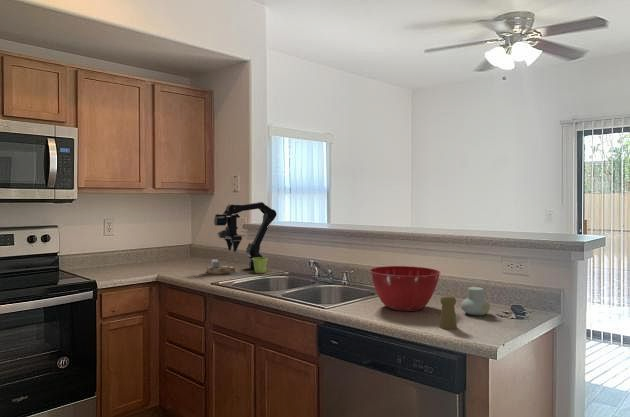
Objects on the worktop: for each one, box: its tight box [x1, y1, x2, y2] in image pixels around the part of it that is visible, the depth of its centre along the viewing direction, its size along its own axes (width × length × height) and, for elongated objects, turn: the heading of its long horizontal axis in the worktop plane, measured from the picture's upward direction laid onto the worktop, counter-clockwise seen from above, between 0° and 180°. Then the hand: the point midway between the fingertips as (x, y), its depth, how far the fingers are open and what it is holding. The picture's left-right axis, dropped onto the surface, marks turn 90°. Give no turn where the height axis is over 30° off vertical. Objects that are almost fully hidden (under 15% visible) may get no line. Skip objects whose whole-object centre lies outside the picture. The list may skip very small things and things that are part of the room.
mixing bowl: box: [369, 265, 441, 312], centre depth 201 cm, size 28×28×15 cm
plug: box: [210, 259, 220, 269], centre depth 287 cm, size 4×4×8 cm
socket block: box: [206, 265, 236, 275], centre depth 289 cm, size 14×10×3 cm
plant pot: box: [252, 256, 269, 274], centre depth 288 cm, size 9×9×9 cm
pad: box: [228, 271, 248, 276], centre depth 284 cm, size 9×9×1 cm
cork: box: [438, 294, 458, 330], centre depth 172 cm, size 6×6×11 cm
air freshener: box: [460, 286, 491, 317], centre depth 191 cm, size 11×8×10 cm
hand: (232, 251), depth 295 cm, fingers open, 9 cm apart
